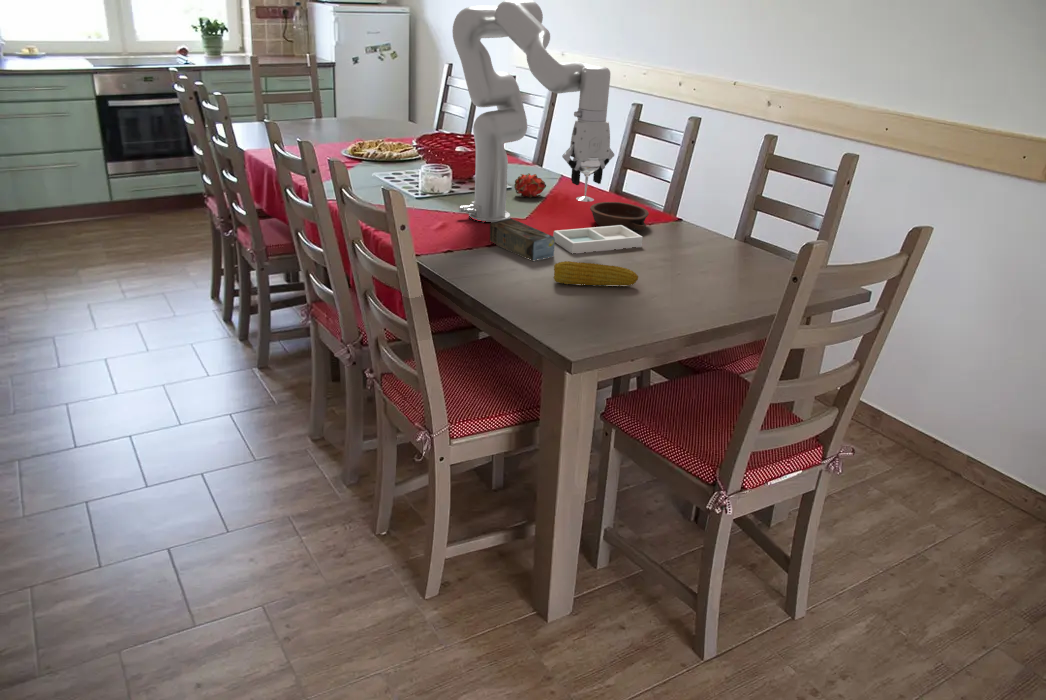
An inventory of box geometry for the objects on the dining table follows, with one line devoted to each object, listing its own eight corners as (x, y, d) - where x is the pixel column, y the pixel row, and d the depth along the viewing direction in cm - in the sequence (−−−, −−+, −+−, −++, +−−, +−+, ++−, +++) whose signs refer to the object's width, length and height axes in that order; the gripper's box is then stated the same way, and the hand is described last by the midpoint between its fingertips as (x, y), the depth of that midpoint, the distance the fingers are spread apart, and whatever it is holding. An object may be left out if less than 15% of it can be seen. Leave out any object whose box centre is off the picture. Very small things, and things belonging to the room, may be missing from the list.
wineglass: (569, 200, 226) (572, 156, 221) (577, 194, 232) (580, 151, 227) (593, 203, 224) (597, 159, 219) (600, 198, 230) (604, 154, 225)
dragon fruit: (509, 201, 277) (541, 204, 283) (520, 192, 270) (553, 195, 275) (507, 177, 279) (539, 181, 284) (518, 167, 271) (551, 171, 277)
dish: (619, 238, 242) (621, 222, 240) (573, 218, 258) (574, 203, 256) (663, 231, 251) (665, 215, 249) (616, 212, 268) (617, 197, 265)
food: (553, 288, 203) (555, 265, 200) (551, 279, 208) (553, 257, 205) (638, 291, 204) (641, 268, 202) (634, 282, 209) (637, 260, 207)
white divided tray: (572, 253, 227) (572, 243, 225) (553, 240, 236) (553, 230, 235) (641, 246, 236) (642, 236, 234) (620, 234, 245) (621, 224, 244)
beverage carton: (532, 263, 219) (533, 239, 216) (487, 243, 232) (488, 220, 229) (554, 257, 223) (556, 234, 221) (509, 238, 237) (511, 216, 234)
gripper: (569, 119, 212) (564, 188, 219) (627, 117, 219) (620, 185, 226) (556, 113, 218) (551, 181, 226) (613, 112, 225) (606, 178, 232)
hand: (586, 182), depth 226 cm, fingers closed on wineglass, 6 cm apart
